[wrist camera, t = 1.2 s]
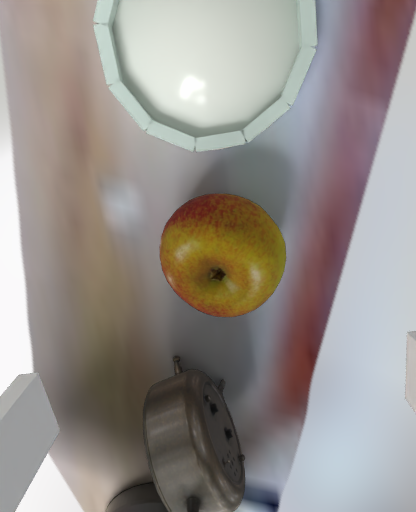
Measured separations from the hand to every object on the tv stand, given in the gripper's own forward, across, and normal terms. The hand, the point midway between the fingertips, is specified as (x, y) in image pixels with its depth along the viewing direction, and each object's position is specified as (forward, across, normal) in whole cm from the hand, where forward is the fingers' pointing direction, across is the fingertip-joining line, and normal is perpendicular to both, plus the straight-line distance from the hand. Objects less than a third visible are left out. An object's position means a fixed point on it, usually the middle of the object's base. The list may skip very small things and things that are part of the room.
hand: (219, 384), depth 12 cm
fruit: (+19, 0, 0) cm, 19 cm away
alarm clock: (+19, +4, +15) cm, 24 cm away
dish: (+18, -1, -15) cm, 24 cm away
